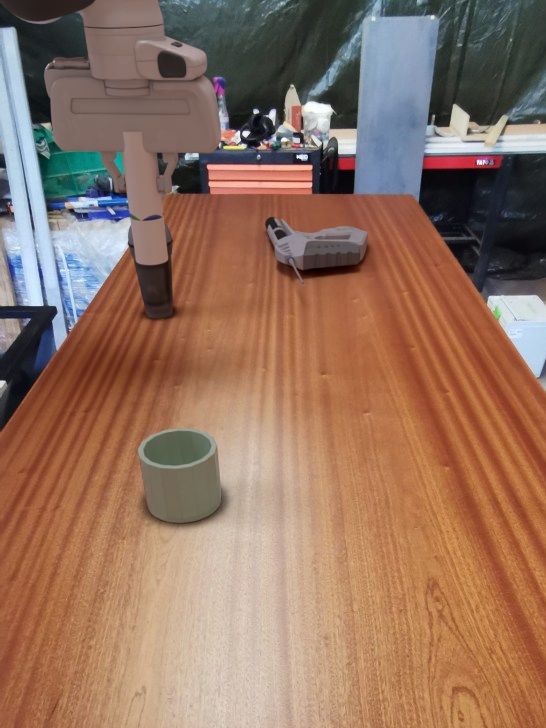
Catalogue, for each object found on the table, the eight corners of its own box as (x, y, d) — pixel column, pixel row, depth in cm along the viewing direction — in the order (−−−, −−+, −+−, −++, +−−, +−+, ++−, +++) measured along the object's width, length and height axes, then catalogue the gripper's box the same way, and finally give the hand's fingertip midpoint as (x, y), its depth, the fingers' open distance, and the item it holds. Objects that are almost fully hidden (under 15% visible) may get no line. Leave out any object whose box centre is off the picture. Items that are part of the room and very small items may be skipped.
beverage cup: (164, 302, 130) (148, 174, 117) (189, 313, 126) (175, 182, 113) (130, 313, 126) (109, 183, 113) (154, 325, 122) (136, 191, 109)
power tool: (351, 234, 162) (261, 237, 160) (353, 208, 159) (261, 210, 157) (405, 296, 128) (291, 301, 126) (408, 264, 124) (291, 268, 122)
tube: (142, 253, 101) (125, 124, 91) (172, 255, 100) (158, 125, 90) (131, 264, 97) (112, 131, 87) (162, 265, 97) (147, 132, 87)
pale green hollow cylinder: (138, 520, 81) (128, 466, 77) (158, 479, 88) (149, 426, 83) (213, 525, 80) (207, 470, 76) (227, 483, 87) (223, 429, 82)
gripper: (30, 60, 83) (56, 197, 92) (209, 60, 81) (217, 200, 90) (50, 53, 87) (73, 184, 97) (219, 53, 85) (226, 187, 94)
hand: (144, 192), depth 93 cm, fingers closed on tube, 4 cm apart
